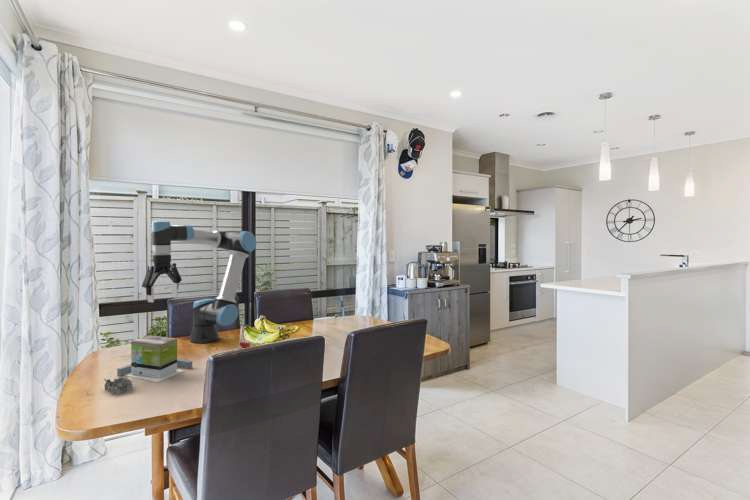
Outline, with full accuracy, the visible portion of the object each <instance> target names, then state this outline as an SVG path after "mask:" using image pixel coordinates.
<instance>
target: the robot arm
mask: <svg viewBox="0 0 750 500" xmlns="http://www.w3.org/2000/svg"><path fill="white" fill-rule="evenodd" d="M150 234H151V244H152V245H151V246H152V254H153V255H152V262H153V265H148V266H147V270H146V274H145V277H144V278H143V282H142V285H141V287H142V288H145V290H146V292H145V293H146V296H147V303H154V302H155V293H154V292H155V291H154V290H155V289H154V287H153V286H154V284H155V282H156V281H157V279H158V278H159V277H160V276H161V275H164V274H165V275H167V276H168V279H170V280H171V281H172V283H171V295H172V297H175V298H178V297H179V284H180V283H181V282H182V281H183V279H182V277H181V275H180V271H179V270H178V269H177V264H176V262H172V254H171V253H172V243H171V242H179V243H187V244H188V243H189V244H190V243H191V244H197V245H198V244H199V245H207V246H211V247H212V248H216V249H222V250H225V251H227V252H228V254H229V258H228V260H227V265H226V268H225V272H224V275H223V279H222V282H221V286H220V288H219V294H218V296H216V297H215V298H207V299H206V298H205V299H204V298H203V299H198V300H194V301H193V305H192V313H193V315H192V316H193V318H192V321H193V323H192V325H193V326H192V330H191V333H190V336H189V342H190V343H193V344H208V343H213V342H217V341H218V340H219V337H220V334H219V333H218V329H217V326H216V325H218V326H230V325H232V324H233V323H234V322H235V321H236V320H237V318H238V316H239V309H238V307H237V301H236V295H237V290H238V287H239V283H240V279H241V276H242V273H243V268H244V265H245V263H246V262H245V261H246V259H247V258H249V257H250V254H251V252H254V251H255V249H256V247H257V239H256V237H255V235H254V234H253V232H251V231H248V230H247V231H246V230H224V231H222V230H221V231H219V230H212V231H207V230H200V229H194V228H193V226H192V225H188V224H187V225H186V224H183V225H181V224H171V221H167V220H165V221H164V220H163V221H161V220H155V221H154V220H153V221H152V222H151V230H150Z"/></svg>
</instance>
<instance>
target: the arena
mask: <svg viewBox="0 0 750 500" xmlns="http://www.w3.org/2000/svg"><path fill="white" fill-rule="evenodd" d="M179 368H181V369H179ZM192 368H193V360H188V359H182V358H177V370H176V371H174V372H172V373H170V374H168V375H166V376H164V377H162V378H155V377H150V376H143V375H136V374H132V373H131V363H130V364H126V365H124V366H121V367H118V368H117V369H116V374H117V377H125V376H126V377H127V378H134V379H139V380H143V381H147V382H153V383H159V382H162V381H164V380H167V379H169V378H172V377H174V376H177V375H179V374H181V373H184V372H186V370H190V369H192ZM185 369H186V370H185Z"/></svg>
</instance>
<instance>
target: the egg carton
mask: <svg viewBox="0 0 750 500" xmlns="http://www.w3.org/2000/svg"><path fill="white" fill-rule="evenodd" d="M103 380H104V381H105V383H104V390H106V391H107V392H109V393H111V395H112V396H113V395H120V394H121V393H124V392H130V391H131V390H133V381H132V380H131V379H130V378H129V377H128V376H121V377H119V378H114V379H113V380H112V381H111V379H109V378H104V379H103Z"/></svg>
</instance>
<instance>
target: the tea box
mask: <svg viewBox="0 0 750 500" xmlns="http://www.w3.org/2000/svg"><path fill="white" fill-rule="evenodd" d="M130 345H131V346H130V351H131V352H130V353H131V355H130V357H131V358H130V359H131V361H130V362H131V363H130V364H131V373H132V374H136V375H143V376H150V377H155V378H162V377H164V376H166V375H168V374H170V373H172V372H174V371H176V370H177V369H178V367H177V359H178V338H175V337H169V336H168V337H167V336H158V335H152V334H151V335H150V334H148V335H146V336H144V337H141V338H137V339H134V340H131V341H130Z"/></svg>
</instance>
